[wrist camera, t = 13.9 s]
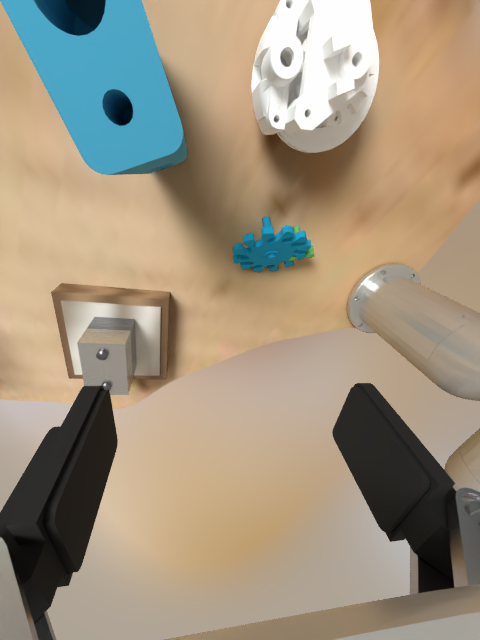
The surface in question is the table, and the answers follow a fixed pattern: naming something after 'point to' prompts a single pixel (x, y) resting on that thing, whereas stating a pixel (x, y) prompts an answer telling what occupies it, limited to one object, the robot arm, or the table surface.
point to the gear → (272, 248)
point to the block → (104, 81)
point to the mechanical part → (315, 72)
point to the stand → (95, 301)
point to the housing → (109, 354)
